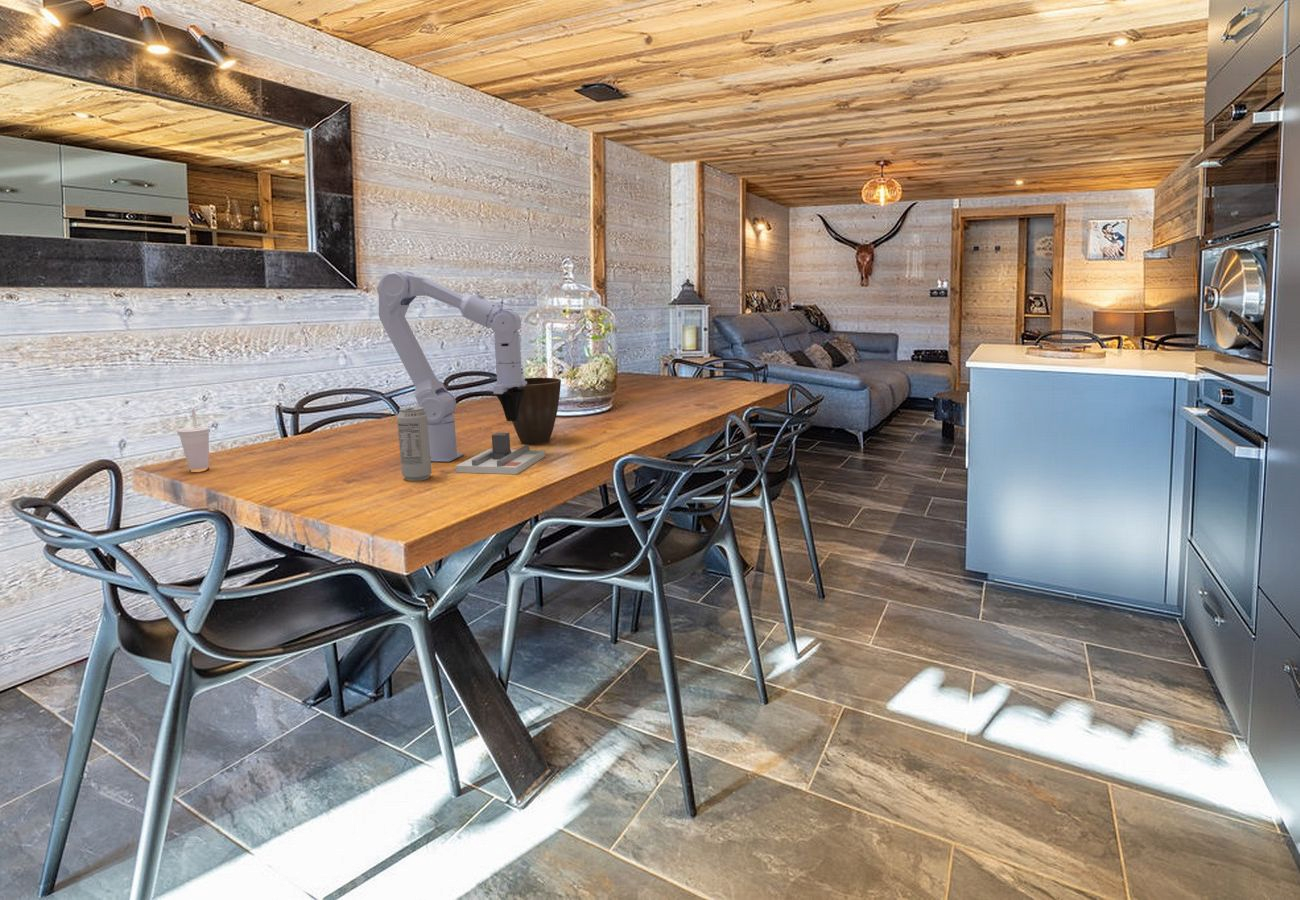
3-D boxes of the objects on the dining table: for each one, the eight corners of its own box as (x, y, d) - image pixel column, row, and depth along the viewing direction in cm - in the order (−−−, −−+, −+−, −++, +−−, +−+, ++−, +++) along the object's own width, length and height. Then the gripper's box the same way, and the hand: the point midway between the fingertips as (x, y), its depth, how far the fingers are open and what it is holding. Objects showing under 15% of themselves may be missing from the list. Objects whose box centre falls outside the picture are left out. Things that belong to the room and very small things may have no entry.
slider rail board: (456, 472, 167) (455, 460, 166) (489, 455, 184) (489, 444, 183) (516, 474, 164) (515, 462, 163) (544, 456, 181) (544, 445, 181)
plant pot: (538, 450, 189) (535, 385, 186) (493, 444, 197) (489, 382, 193) (575, 439, 201) (572, 379, 198) (531, 435, 209) (528, 376, 206)
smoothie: (221, 468, 175) (213, 408, 172) (195, 475, 169) (186, 412, 166) (203, 466, 178) (194, 407, 175) (176, 472, 172) (167, 411, 169)
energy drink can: (437, 476, 164) (432, 406, 161) (418, 482, 158) (412, 411, 155) (415, 473, 166) (410, 405, 163) (396, 480, 161) (389, 409, 158)
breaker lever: (492, 459, 172) (490, 435, 171) (499, 455, 176) (497, 432, 175) (504, 459, 171) (503, 435, 170) (511, 455, 175) (510, 432, 174)
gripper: (512, 365, 168) (516, 426, 171) (535, 359, 182) (538, 415, 185) (483, 365, 170) (487, 425, 173) (508, 359, 184) (511, 415, 186)
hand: (512, 420), depth 179 cm, fingers closed
